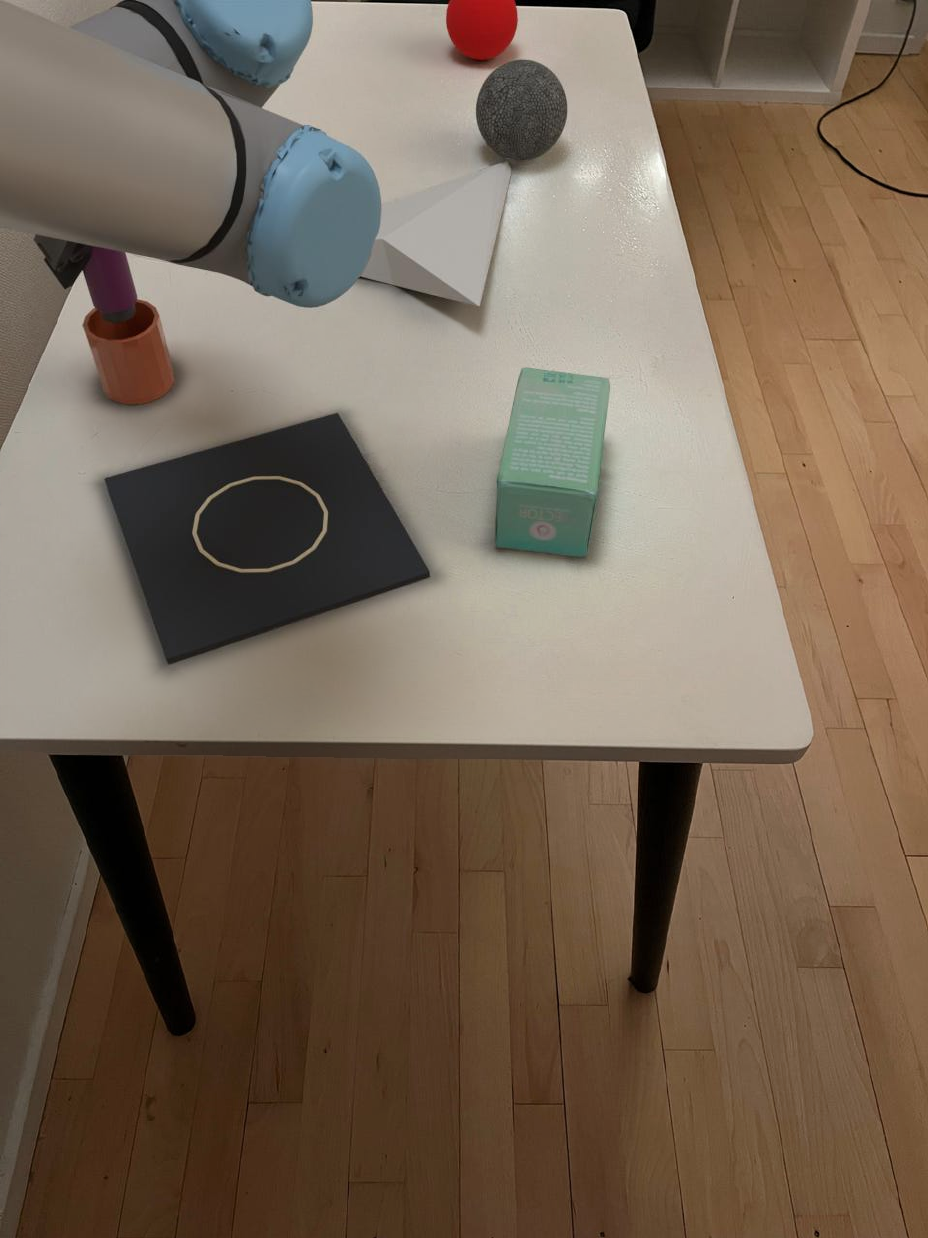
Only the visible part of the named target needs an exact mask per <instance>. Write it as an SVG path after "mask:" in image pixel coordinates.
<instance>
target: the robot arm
mask: <svg viewBox="0 0 928 1238" xmlns="http://www.w3.org/2000/svg"><path fill="white" fill-rule="evenodd" d="M313 24H314V12H313V4H312V0H122V1H119V2H118V3H116V5H114V6H111V7H110V8H108V9H106V10H102V11H101V12H98V13H96V14H93V15H92V16H90V17H88V18H85V19H83V20H80V21H78V22H76V23H74V24H71V25H70V26H66V25H64V24H61V23H59V22H57V21H54V20H52V19H49V18H47V17H44V16H42V15H39V14H37V13H35V12H33V11H30V10H28V9H26V8H23V7H21V6H18V5H17V4H13V3H11V2H9V1H6V0H0V228H1V229H2V228H3V229H7V230H13V231H17V232H22V233H27V234H33V235H34V238H33V242H34V243H35V245H36V246H37V247H38V249H39V250H40V251H41V253H42V255H43V256H44V259H43V261H44V262H45V264H46V266H47V267H48V268H49V270H50V271H51V273H52V274H53V276H54V277H55V279H56V280H57V281H58V282H59V284H60V285H61V287H62V288H63V289H64V290H67V289H69V288H71V287H73V285H74V284H75V282H76V281H77V280H78V278H79V276H80V275H81V273H83V271H82V270H83V268H84V267H85V265H86V264H87V263H88V261H89V260H90V258H91V257H92V255H91V254H90V252H89V250H90V249H91V248H92V246H96V247H101V248H106V249H111V250H116V251H121V252H125V253H126V254H131V255H135V256H136V255H137V256H142V257H146V258H151V259H156V260H161V261H164V262H168V263H171V264H173V265H174V264H175V265H178V266H183V267H187V268H192V269H198V270H203V271H208V272H213V273H216V274H217V273H218V274H221V275H224V276H228V277H231V278H232V279H235V280H239V281H241V282H243V283H245V284H247V285H249V286H251V288H253V290H254V292H256V293H257V294H260V295H262V296H263V297H273V298H276V299H278V300H280V301H283V302H285V303H288V304H291V305H293V306H295V307H299V308H307V309H310V308H311V309H312V308H313V309H314V308H319V307H322V306H326V305H328V304H330V303H332V302H334V301H336V300H338V299H339V298H340V297H342V296H343V295H344V294H346V293H347V292H348V291H349V290H350V289H351V288H352V287H353V286H354V284H355V283H356V282H357V281H358V280H359V278H360V277H361V276H360V275H361V274H362V272H363V271H364V269H365V267H366V265H367V263H368V261H369V259H370V257H371V250H372V247H373V245H374V241H375V238H376V237H377V235H378V233H379V228H380V221H381V205H382V198H381V197H382V196H381V189H380V185H379V181H378V179H377V176H376V173H375V171H374V169H373V168H372V166H371V165H370V163H369V162H368V161H367V159H366V157H365V156H364V155H362V153H361V152H359V151H358V150H356V149H355V148H353V147H351V146H349V145H347V144H345V143H344V142H341V141H339V140H337V139H335V138H333V137H331V136H329V135H327V133H326V132H325V131H323V130H322V129H320V128H317V127H314V126H312V125H310V124H305V125H304V124H301V123H299V122H296V121H294V120H292V119H289V118H287V117H284V116H282V115H279V114H277V113H275V112H272V111H270V110H268V109H265V108H263V107H264V106H265V105H266V103H267V102H268V101H269V99H270V98H271V97H272V96H273V94H275V92H276V91H277V89H279V87H280V86H281V85H282V84H284V83H286V82H287V81H288V80H289V79H290V78H291V76H292V75H291V74H292V73H293V71H294V68H295V67H296V65H297V63H298V61H299V60H300V58H301V56H302V54H303V52H304V51H305V49H306V47H308V43H309V41H310V39H311V36H312V31H313V26H314V25H313Z"/></svg>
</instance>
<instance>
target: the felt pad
mask: <svg viewBox="0 0 928 1238" xmlns="http://www.w3.org/2000/svg"><path fill="white" fill-rule="evenodd" d="M104 482H105V485H106V489H107V492H108V494H109V497H110V500H111V502H112V505H113V508H114V511H115V514H116V517H117V520H118V523H119V525H120V528H121V531H122V535H123V538H124V540H125V543H126V547H127V549H128V552H129V554H130V558H131V560H132V564H133V566H134V569H135V573H136V576H137V579H138V581H139V584H140V587H141V590H142V593H143V596H144V599H145V601H146V604H147V608H148V610H149V613H150V617H151V619H152V622H153V625H154V628H155V631H156V633H157V636H158V639H159V642H160V645H161V648H162V651H163V654H164V657H165V660H166V662H167V664H173V663H175V662H178V661H182V660H184V659H187V658H191V657H193V656H196V655H199V654H202V653H206V652H209V651H211V650H213V649H217V648H220V647H224V646H226V645H229V644H232V643H235V642H238V641H241V640H244V639H247V638H250V637H254V636H256V635H259V634H262V633H265V632H268V631H271V630H274V629H278V628H280V627H283V626H286V625H289V624H292V623H295V622H299V621H301V620H304V619H308V618H310V617H314V616H315V615H319V614H323V613H325V612H328V611H331V610H335V609H338V608H341V607H344V606H346V605H349V604H353V603H355V602H358V601H360V600H364V599H368V598H370V597H373V596H375V595H380V594H382V593H386V592H388V591H391V590H394V589H397V588H400V587H404V586H406V585H410V584H412V583H415V582H419V581H421V580H424V579H428V578H430V577H431V572H430V569H429V568H428V566H427V565H426V563H425V561H424V559H423V557H422V555H421V553H420V552H419V551H418V548H417V547H416V545H415V544H414V541H413V540H412V538H411V536H410V535H409V533H408V532H407V529H406V528H405V526H404V524H403V523H402V521H401V519H400V517H399V516H398V514H397V512H396V511H395V509H394V507H393V505H392V504H391V502H390V500H389V499H388V496H387V495H386V493H385V492H384V490H383V488H382V487H381V485H380V483H379V481H378V480H377V478H376V475H374V472H373V470H371V467H370V465H369V464H368V462H367V460H366V459H365V456H364V455H363V453H362V451H361V450H360V448H359V447H358V445H357V443H356V441H355V439H354V438H353V436H352V434H351V433H350V431H349V430H348V428H347V426H346V424H345V422H344V421H343V419H342V417H341V415H340V414H339V412H335V413H331V414H328V415H324V416H320V417H317V418H313V419H309V420H307V421H303V422H299V423H296V424H292V425H288V426H285V427H281V428H278V429H273V430H271V431H268V432H267V431H266V432H264V433H261V434H257V435H253V436H249V437H246V438H243V439H239V440H235V441H232V442H229V443H224V444H222V445H217V446H214V447H210V448H207V449H203V450H200V451H196V452H192V453H189V454H186V455H182V456H178V457H174V458H172V459H171V458H170V459H168V460H164V461H161V462H157V463H153V464H150V465H145V466H142V467H140V468H136V469H132V470H129V471H126V472H122V473H121V472H120V473H118V474H115V475H111V476H108V477H104Z"/></svg>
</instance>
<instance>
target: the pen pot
mask: <svg viewBox="0 0 928 1238" xmlns="http://www.w3.org/2000/svg"><path fill="white" fill-rule="evenodd" d="M135 308H136V313H135V315H134V316H133V317H132V318H131V319H129V320H127V321H124V322H119V323H112V322H108V321H106V320H104V319H103V317H102V315H101V311H99V310H97V309H96V308H95V307H94V308H92V309H91V310H90V311H89V312H88V313H87V314H86V315H85V316H84V319H83V323H82V328H83V331H84V334H85V338H86V341H87V343H88V346H89V350H90V353H91V357H92V359H93V362H94V366H95V368H96V371H97V374H98V377H99V380H100V384H101V387H102V389H103V392H104V394H105V395H106V396H107V397H108V398H109V399H110V400H112V401H114V402H116V403H119V404H123V405H134V406H135V405H143V404H147V403H150V402H154V401H156V400H158V399H160V398H162V397H163V396H165V395H166V394H167V393H168V392H169V391H170V390H171V389H172V388H173V385H174V383H175V371H174V367H173V363H172V359H171V355H170V352H169V348H168V344H167V340H166V336H165V333H164V328H163V324H162V321H161V316H160V314H159V311H158V309H157V308H156V306H154V305H153V304H151V303H150V302H148V301H146V300H142V299H139V298H137V301H136V303H135Z"/></svg>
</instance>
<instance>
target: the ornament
mask: <svg viewBox="0 0 928 1238" xmlns="http://www.w3.org/2000/svg"><path fill="white" fill-rule="evenodd" d="M445 13H446V14H445V25H446V30H447V33H448V36H449V39H450V41H451V43H452V44H453V45H454V47H455V48H456V49H457V51H458V52H460V53H461V54H463V55H464V56H466V57H467V58H470V59H473V60H477V61H486V60H490V59H493V58H497V57H498V56H500V55H501V54H502V53H503V52H505V50H506V49H507V48H509V46H510V45H511V43H512V41H513V40H514V38H515V35H516V32H517V29H518V24H519V23H518V22H519V17H518V7H517V4H516V1H515V0H449V1H448V4H447V7H446V12H445Z"/></svg>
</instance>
